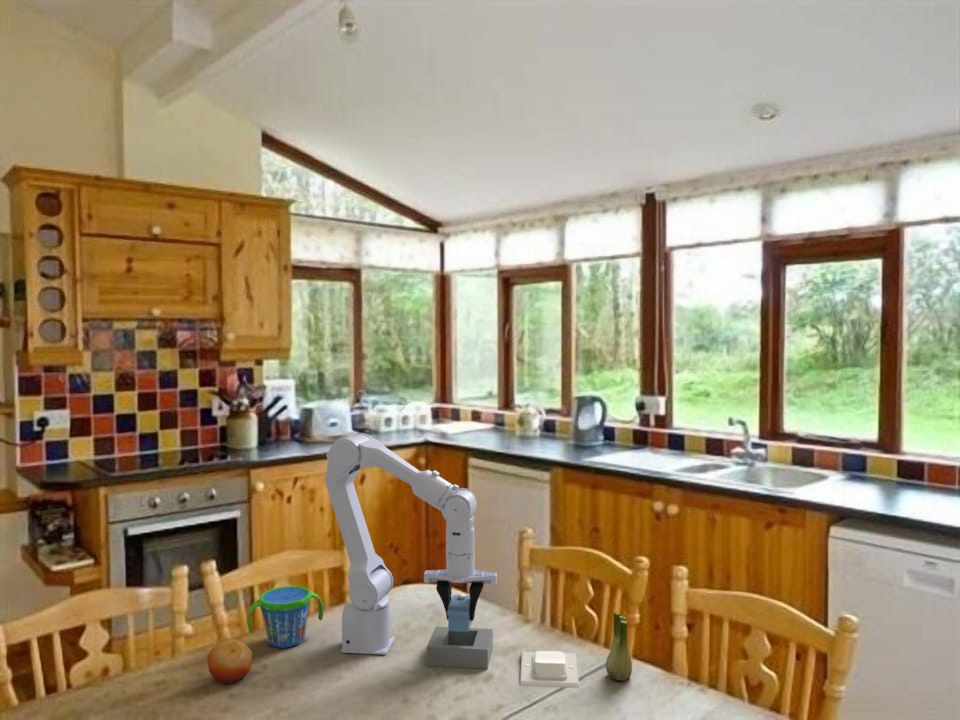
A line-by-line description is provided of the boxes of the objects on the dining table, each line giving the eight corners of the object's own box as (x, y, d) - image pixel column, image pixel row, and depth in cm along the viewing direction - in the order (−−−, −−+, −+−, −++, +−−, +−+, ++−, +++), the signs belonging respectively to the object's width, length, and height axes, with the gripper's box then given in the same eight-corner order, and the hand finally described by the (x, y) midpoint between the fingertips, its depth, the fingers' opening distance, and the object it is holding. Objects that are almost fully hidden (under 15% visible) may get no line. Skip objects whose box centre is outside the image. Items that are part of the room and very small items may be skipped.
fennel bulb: (629, 686, 136) (629, 622, 136) (602, 681, 138) (603, 618, 137) (634, 672, 142) (634, 610, 141) (608, 668, 143) (608, 607, 143)
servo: (447, 634, 144) (446, 606, 144) (454, 616, 154) (454, 589, 153) (467, 635, 144) (467, 607, 143) (473, 616, 153) (473, 590, 153)
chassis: (426, 665, 145) (426, 646, 144) (435, 644, 155) (435, 626, 154) (487, 668, 143) (487, 649, 143) (492, 647, 153) (492, 629, 153)
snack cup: (248, 657, 148) (248, 607, 148) (246, 637, 158) (245, 590, 158) (327, 646, 154) (326, 597, 154) (320, 627, 164) (319, 581, 163)
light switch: (519, 671, 136) (521, 638, 149) (520, 692, 137) (521, 658, 149) (579, 673, 135) (575, 640, 148) (579, 694, 136) (575, 660, 148)
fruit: (235, 655, 146) (244, 627, 143) (251, 687, 142) (261, 658, 139) (195, 668, 141) (203, 639, 138) (211, 701, 136) (220, 672, 133)
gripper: (420, 556, 145) (421, 624, 145) (494, 558, 143) (494, 627, 144) (427, 545, 152) (428, 611, 152) (497, 548, 150) (498, 613, 151)
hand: (460, 618), depth 149 cm, fingers closed on servo, 4 cm apart
